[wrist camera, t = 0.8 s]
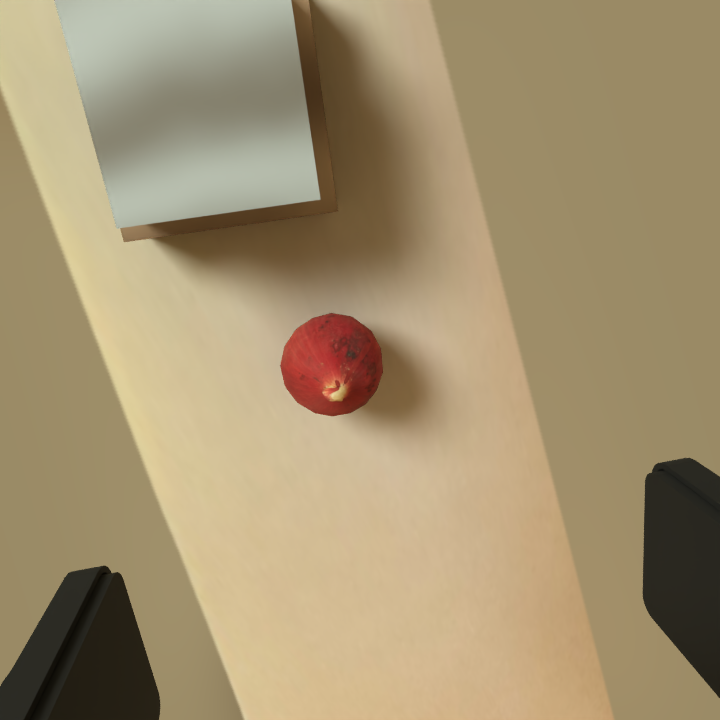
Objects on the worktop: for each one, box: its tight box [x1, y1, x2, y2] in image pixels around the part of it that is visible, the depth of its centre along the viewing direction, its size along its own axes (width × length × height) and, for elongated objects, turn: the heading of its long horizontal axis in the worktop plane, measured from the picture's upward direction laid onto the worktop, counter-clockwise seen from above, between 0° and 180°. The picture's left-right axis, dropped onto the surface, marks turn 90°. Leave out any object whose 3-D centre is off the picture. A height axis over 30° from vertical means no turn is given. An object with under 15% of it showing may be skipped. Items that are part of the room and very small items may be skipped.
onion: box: [280, 313, 383, 416], centre depth 32 cm, size 6×6×8 cm
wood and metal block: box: [54, 0, 338, 242], centre depth 27 cm, size 11×11×8 cm
